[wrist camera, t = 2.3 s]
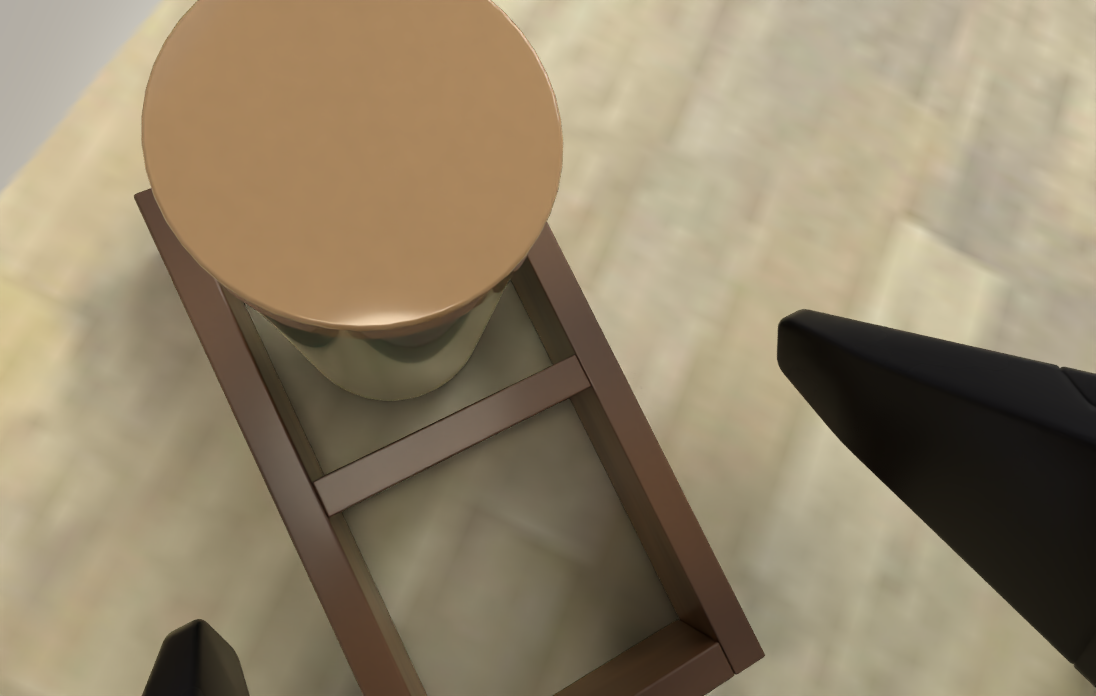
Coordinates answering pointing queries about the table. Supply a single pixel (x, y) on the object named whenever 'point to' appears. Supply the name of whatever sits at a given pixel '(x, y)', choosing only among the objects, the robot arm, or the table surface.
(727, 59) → the table surface
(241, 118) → the canister
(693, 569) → the rack
